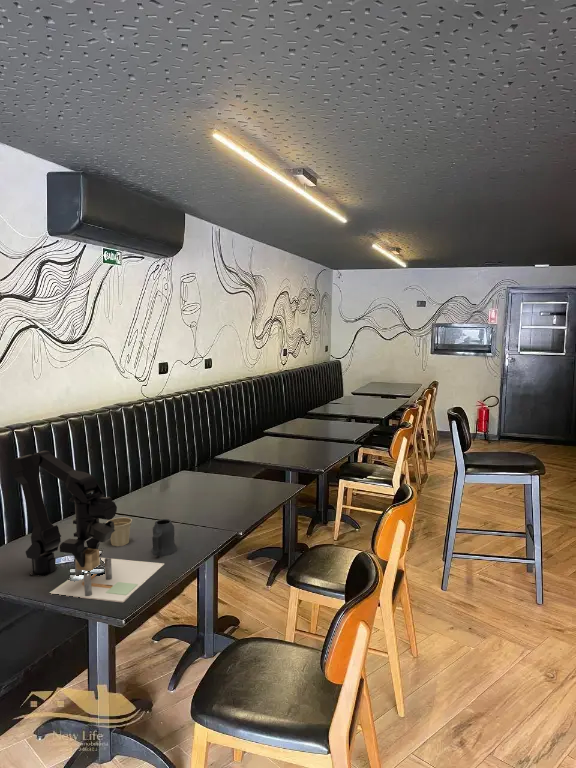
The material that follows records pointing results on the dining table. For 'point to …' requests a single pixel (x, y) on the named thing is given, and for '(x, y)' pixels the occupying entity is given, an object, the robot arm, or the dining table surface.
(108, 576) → the wire and posts
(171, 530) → the dark grey holder
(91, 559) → the oak open box
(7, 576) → the dining table surface
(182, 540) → the dining table surface
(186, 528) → the dining table surface
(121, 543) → the flower pot
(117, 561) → the course mat
